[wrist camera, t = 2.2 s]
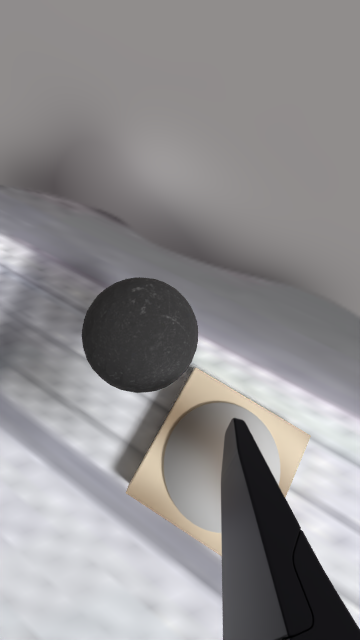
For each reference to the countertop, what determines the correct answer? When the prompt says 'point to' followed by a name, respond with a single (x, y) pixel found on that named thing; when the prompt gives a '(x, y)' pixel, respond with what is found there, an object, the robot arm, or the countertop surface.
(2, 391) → the countertop surface
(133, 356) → the light bulb
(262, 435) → the plinth
